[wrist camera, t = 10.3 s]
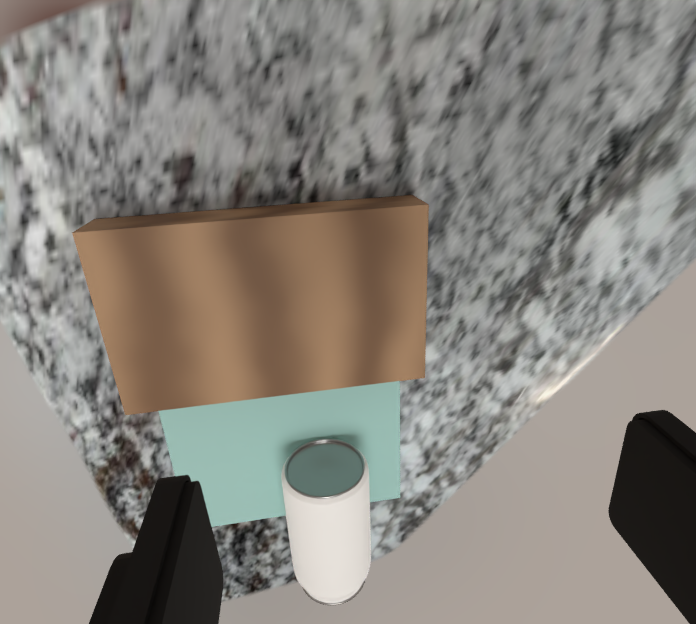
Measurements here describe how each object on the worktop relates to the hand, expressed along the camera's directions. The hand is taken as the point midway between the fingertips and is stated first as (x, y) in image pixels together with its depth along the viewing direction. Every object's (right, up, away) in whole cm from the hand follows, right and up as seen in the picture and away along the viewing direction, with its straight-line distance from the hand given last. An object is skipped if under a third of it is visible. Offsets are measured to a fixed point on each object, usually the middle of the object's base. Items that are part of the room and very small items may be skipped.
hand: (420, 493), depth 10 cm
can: (-3, -7, +24) cm, 25 cm away
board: (-7, +5, +22) cm, 24 cm away
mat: (-6, -7, +27) cm, 29 cm away
